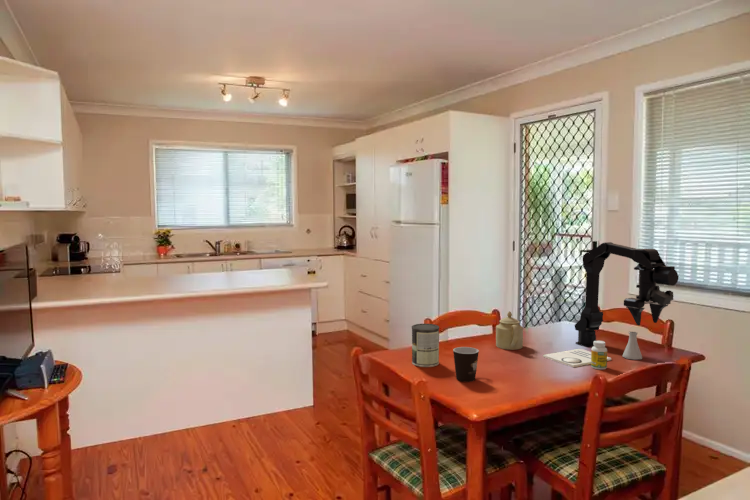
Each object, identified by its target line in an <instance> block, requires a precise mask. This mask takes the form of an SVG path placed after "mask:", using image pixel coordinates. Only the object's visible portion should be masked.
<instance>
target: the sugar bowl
mask: <svg viewBox="0 0 750 500" xmlns="http://www.w3.org/2000/svg"><path fill="white" fill-rule="evenodd" d="M512 316H513V314H512V311H507V316H506V317H503V318H502V319H500V320H499V324H496V325H495V346H496V347H497V348H498V349H500V350H501V349H502V350H508V351H510V350H511V351H513V350H521V349H523V347H524V346H523V345H524V344H523V343H524V327H523V326H522V325H520V323H521V322H520V320H518V319H517V318H514V317H512Z"/></svg>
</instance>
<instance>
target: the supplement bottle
mask: <svg viewBox="0 0 750 500" xmlns="http://www.w3.org/2000/svg"><path fill="white" fill-rule="evenodd" d="M593 345H594V346H591V351H590V352H591V364H590V367H591V368H592V369H595V370H599V371H600V370H601V371H602V370H606V369H607V367H608V361H607V357H608V348H607V347H606V342H605V341H604V340H596V341H594V342H593Z"/></svg>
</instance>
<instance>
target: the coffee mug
mask: <svg viewBox="0 0 750 500" xmlns="http://www.w3.org/2000/svg"><path fill="white" fill-rule="evenodd" d="M452 351H453V352H452V353H453V361H454V370H455V379H456V380H457V381H458V382H461V383H471V382H475V380H476V375H477V368H478V359H479V353H480V350H479V349H478V348H475V347H470V346H459V347H455V348H453V350H452Z"/></svg>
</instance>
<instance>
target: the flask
mask: <svg viewBox="0 0 750 500" xmlns="http://www.w3.org/2000/svg"><path fill="white" fill-rule="evenodd" d="M628 334H629V336H628V342H627V344H626V346H625V348H624V351H623V354H622V357H623V358H625V359H627V360H637V361H638V360H642V359H643V355H642V353H641V350H640V347H639V344H638V339H637V338H638V337H637V335H638V332H636V331H628Z"/></svg>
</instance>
